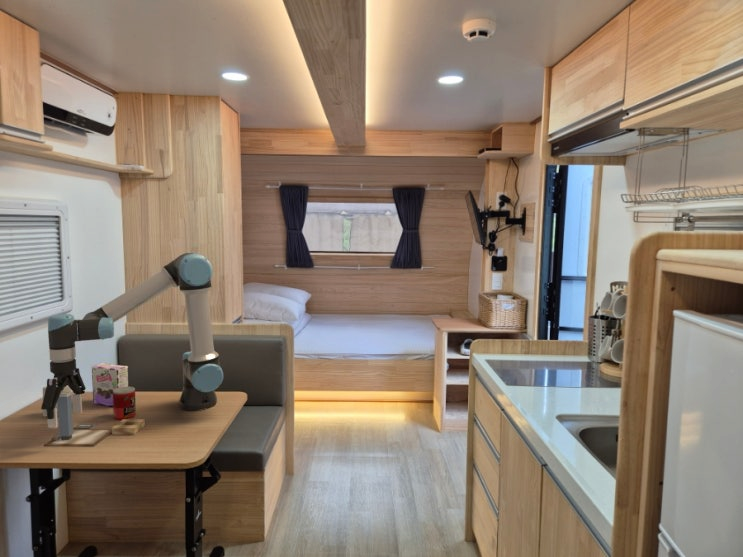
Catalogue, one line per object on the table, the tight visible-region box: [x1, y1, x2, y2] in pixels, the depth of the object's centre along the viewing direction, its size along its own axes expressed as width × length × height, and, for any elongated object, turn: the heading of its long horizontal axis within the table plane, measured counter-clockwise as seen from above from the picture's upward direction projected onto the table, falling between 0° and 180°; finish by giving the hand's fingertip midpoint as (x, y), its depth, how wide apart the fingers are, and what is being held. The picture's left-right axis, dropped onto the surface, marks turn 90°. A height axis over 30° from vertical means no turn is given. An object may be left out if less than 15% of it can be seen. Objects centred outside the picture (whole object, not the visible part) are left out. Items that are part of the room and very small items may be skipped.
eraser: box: [57, 391, 74, 440], centre depth 164 cm, size 3×2×16 cm
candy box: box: [91, 362, 129, 408], centre depth 200 cm, size 14×6×16 cm, turn 73°
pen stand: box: [111, 418, 146, 436], centre depth 174 cm, size 8×8×2 cm
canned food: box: [113, 386, 137, 421], centre depth 186 cm, size 8×8×11 cm
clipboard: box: [43, 428, 112, 447], centre depth 167 cm, size 17×13×1 cm
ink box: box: [42, 385, 72, 418], centre depth 187 cm, size 9×5×12 cm, turn 84°
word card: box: [73, 423, 96, 429], centre depth 177 cm, size 6×4×1 cm, turn 91°
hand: (65, 419), depth 164 cm, fingers open, 13 cm apart
